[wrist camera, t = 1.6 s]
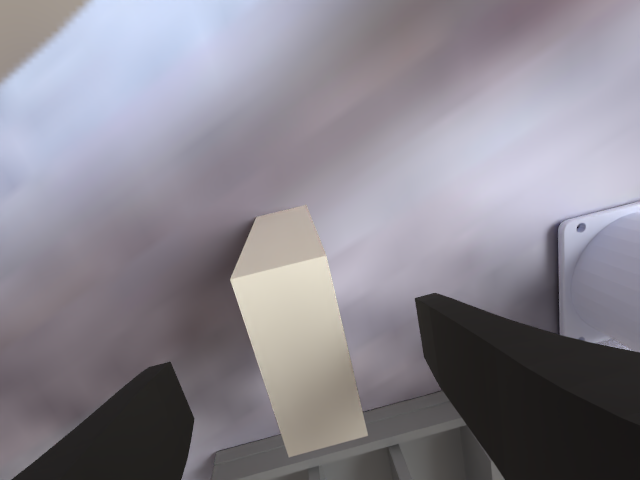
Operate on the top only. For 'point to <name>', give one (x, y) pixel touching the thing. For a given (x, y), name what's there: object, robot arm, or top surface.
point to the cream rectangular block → (298, 332)
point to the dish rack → (374, 450)
